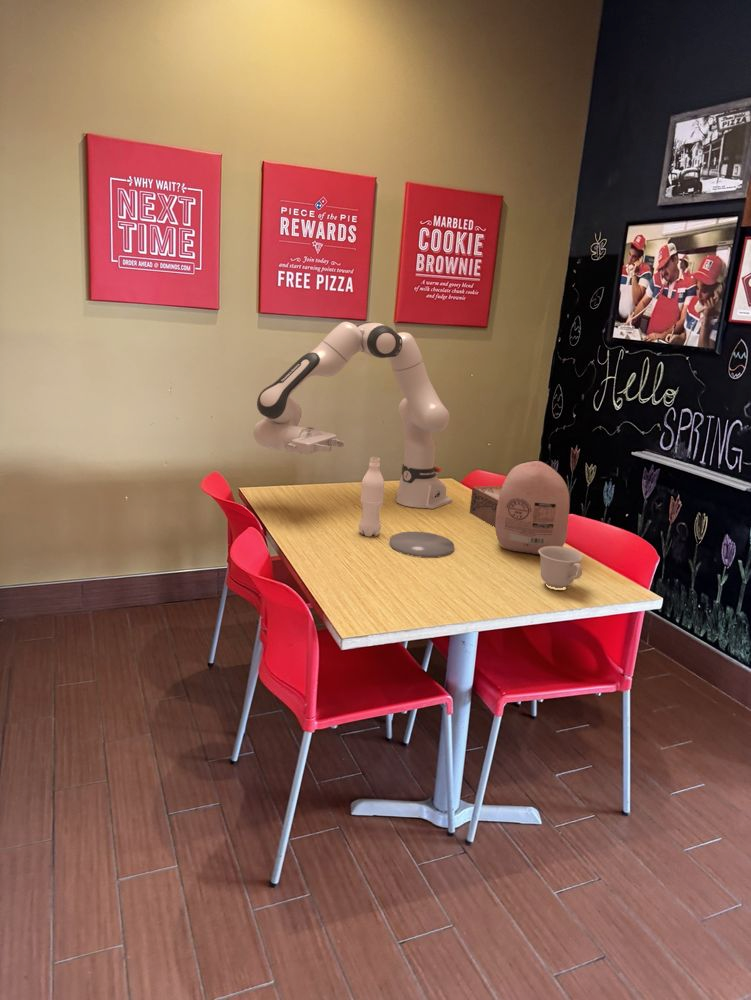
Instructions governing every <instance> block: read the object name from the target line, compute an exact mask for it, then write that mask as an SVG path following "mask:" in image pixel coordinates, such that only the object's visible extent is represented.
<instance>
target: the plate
mask: <svg viewBox="0 0 751 1000" xmlns="http://www.w3.org/2000/svg"><path fill="white" fill-rule="evenodd" d="M388 544H389V546H390V548H391V547H392V548H391V549H393V548H394V549H395V550H394V549H393V550H394V551H396V550H397V551H396V552H398V551H399V552H398V553H400V552H402V553H401V554H403V553H405V554H404V555H406V554H409V555H408V556H410V555H413V556H412V557H415V556H421V557H420V558H425V557H435V558H439V557H438V556H443V557H445V556H444V555H447V556H449V555H451V554H452V553H454V551H453V550H454V549H455V544H454V542H453V541H452V540H451V539H449V538H448V537H445V536H443V535H439V534H436V533H431V532H425V531H405V532H398V533H395V534H393V535H391V536H390V538H389V543H388ZM450 553H451V554H450ZM448 554H449V555H448Z"/></svg>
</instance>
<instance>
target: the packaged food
mask: <svg viewBox="0 0 751 1000" xmlns="http://www.w3.org/2000/svg"><path fill="white" fill-rule="evenodd" d="M501 486H502V488H501V491H500V495H499V500H498V505H497V510H496V522H495V534H496V538H497V541H498V544H499V545H500V547H502V548H504V549H506V550H509V551H512V552H517V551H518V552H519V553H524V552H525V554H530V553H532V554H531V555H535V554H540V553H539V552H538V550H539V549H540V548H542V547H545V546H560V547H564V545H565V543H566V540H567V535H568V527H569V526H568V524H569V515H570V514H569V513H570V491H569V489H568V485H567V483H566V481H565V479H564V478H563V476H562V475H561V474H560V472H558V471H557V470H556V469H554V467H552V466H551V465H549V464H547V463H545V462H544V461H541V460H537V459H535V460H528V461H524V462H521V463H519V464H516V465H515V466H514V467H512V469H510V471H509V473H508V474H507V476H506V478H505V479H504V482H503V483H502V485H501ZM518 552H517V553H518Z"/></svg>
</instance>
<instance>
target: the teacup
mask: <svg viewBox="0 0 751 1000" xmlns="http://www.w3.org/2000/svg"><path fill="white" fill-rule="evenodd" d="M538 552H539V553H540V555H539V556H540V557H539V558H540V568H539V569H540V570H539V571H540V577H541V579H542V581H543V582H545V584H547V585H548V586H551V587H555V588H563V587H566V588H567V587H568V586H569V585H572V583H573V582H574V581H575V580H578V579H579V578H580V577H582V575H583V567H582V565H581V561H583V560H584V555H583V554H581V552H579V551H577V550H575V549H572V548H570V547H565V546H563V547H560V546H545V547H542V548H540V549H539V550H538Z"/></svg>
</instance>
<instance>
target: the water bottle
mask: <svg viewBox="0 0 751 1000" xmlns="http://www.w3.org/2000/svg"><path fill="white" fill-rule="evenodd" d="M380 459H381V458H380V457H377V456H371V457H370V459H369V464H368V469H367V472H366V473H365V474H364V476H363V479H362V481H361V495H360V502H361V507H362V512H361V513H362V514H361V517H360V521H359V523H358V530H359V533H360V534H361V536H363V535H365V536H366V537H368V538H369V537H370V538H371V537H372V536H375V537H377V536H378V535H379V534H380V532H381V529H382V524H381V520H380V513H381V512H380V511H381V508H382V505H383V504H384V491H385V479H384V477H383V475H382V472H381V469H380V467H381V463H380V461H381V460H380Z"/></svg>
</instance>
